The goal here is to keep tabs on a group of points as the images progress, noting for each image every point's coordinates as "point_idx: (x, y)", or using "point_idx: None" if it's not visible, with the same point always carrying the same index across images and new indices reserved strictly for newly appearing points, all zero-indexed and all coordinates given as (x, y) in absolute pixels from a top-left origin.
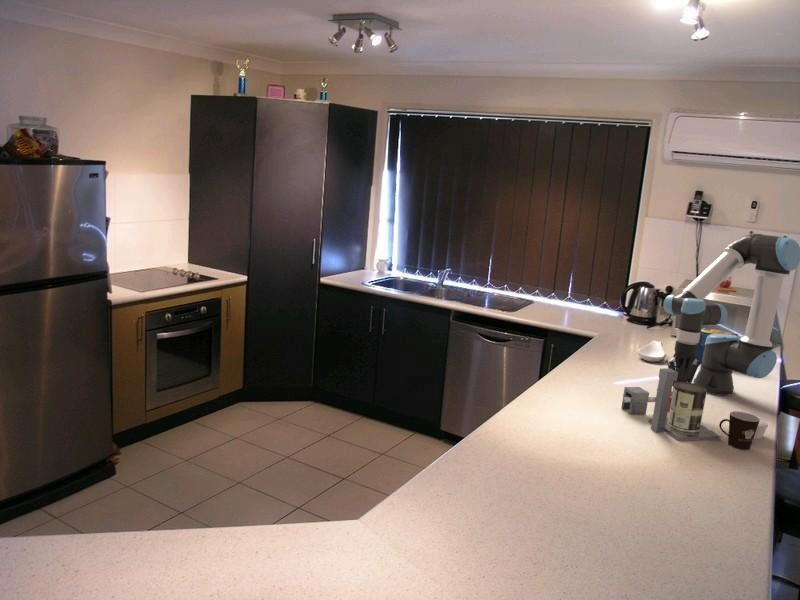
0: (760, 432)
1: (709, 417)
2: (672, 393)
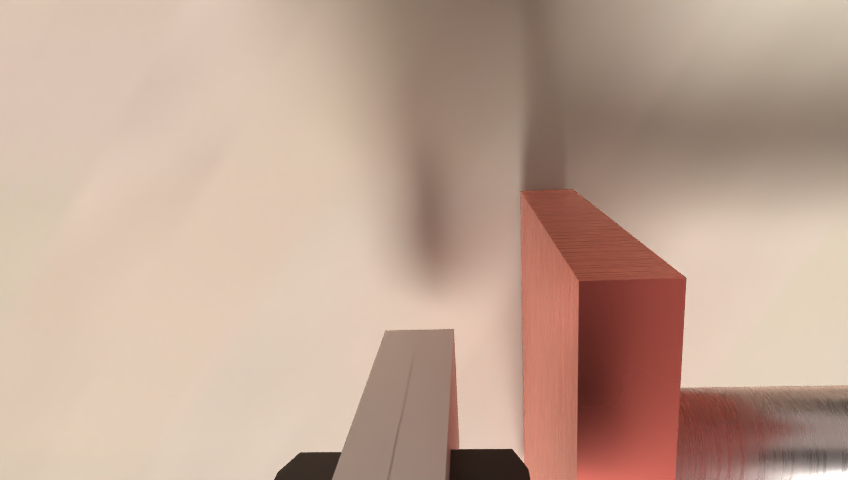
0: None
1: (29, 118)
2: (674, 453)
